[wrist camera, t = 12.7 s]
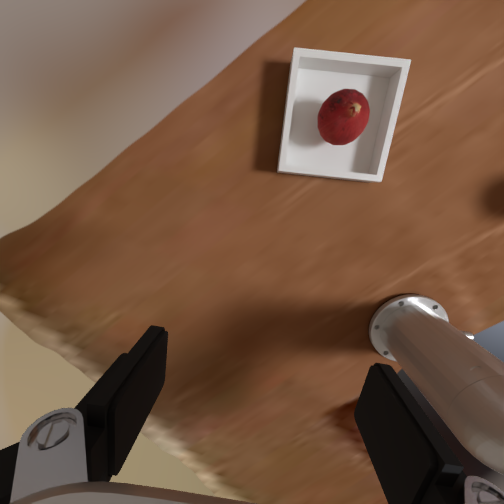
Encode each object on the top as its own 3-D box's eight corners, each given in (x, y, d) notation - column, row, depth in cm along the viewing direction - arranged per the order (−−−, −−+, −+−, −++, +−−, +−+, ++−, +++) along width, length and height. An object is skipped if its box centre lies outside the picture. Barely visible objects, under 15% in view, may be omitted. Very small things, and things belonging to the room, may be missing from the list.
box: (394, 73, 30) (411, 59, 27) (369, 182, 34) (381, 181, 30) (290, 63, 30) (294, 47, 27) (276, 172, 34) (278, 170, 31)
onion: (302, 126, 31) (316, 106, 24) (336, 91, 30) (361, 58, 23) (330, 158, 32) (351, 149, 25) (363, 126, 31) (397, 106, 24)
